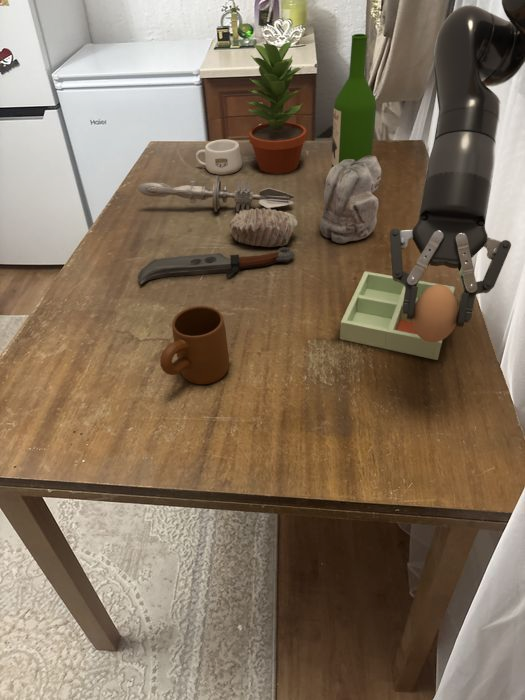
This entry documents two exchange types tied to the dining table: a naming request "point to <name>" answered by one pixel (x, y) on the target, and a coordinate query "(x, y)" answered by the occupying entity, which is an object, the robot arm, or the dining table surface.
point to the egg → (435, 313)
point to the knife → (209, 264)
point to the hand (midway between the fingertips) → (434, 321)
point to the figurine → (351, 200)
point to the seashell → (263, 227)
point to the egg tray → (385, 317)
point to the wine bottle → (354, 110)
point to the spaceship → (219, 194)
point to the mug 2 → (221, 157)
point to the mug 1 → (197, 346)
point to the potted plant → (276, 113)
